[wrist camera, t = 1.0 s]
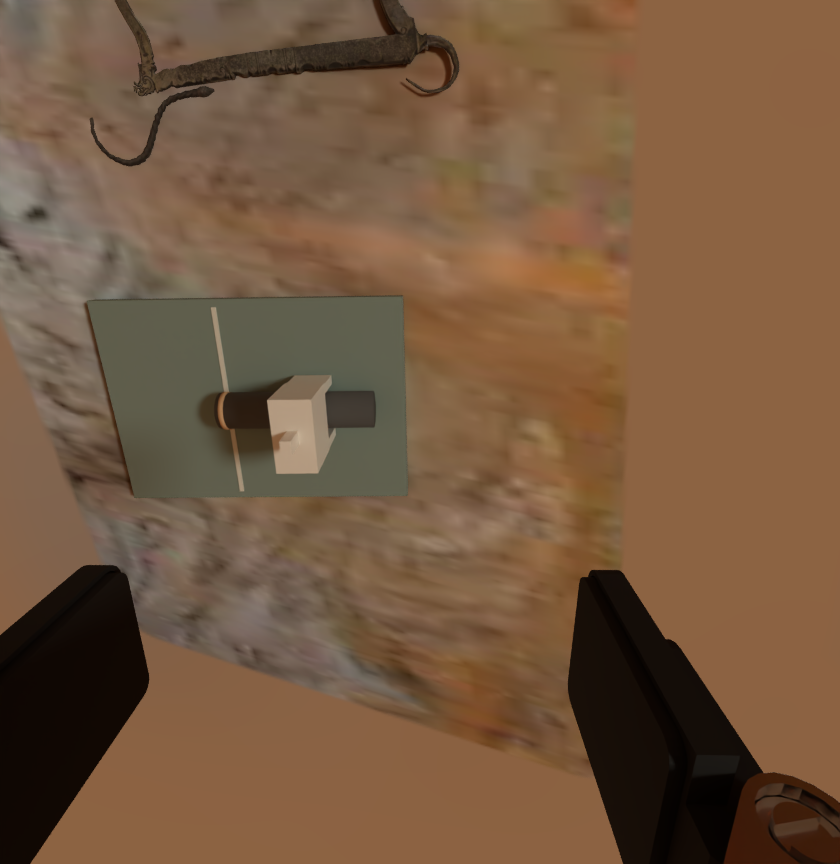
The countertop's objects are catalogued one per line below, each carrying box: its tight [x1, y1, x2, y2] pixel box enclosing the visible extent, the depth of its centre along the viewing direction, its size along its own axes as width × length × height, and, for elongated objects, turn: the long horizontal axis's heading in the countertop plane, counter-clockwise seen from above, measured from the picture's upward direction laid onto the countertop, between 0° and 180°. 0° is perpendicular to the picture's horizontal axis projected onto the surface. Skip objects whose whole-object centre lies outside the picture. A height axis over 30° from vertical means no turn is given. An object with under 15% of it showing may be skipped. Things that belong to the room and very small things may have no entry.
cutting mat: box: [87, 296, 408, 498], centre depth 33 cm, size 14×20×1 cm
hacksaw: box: [90, 0, 459, 166], centre depth 27 cm, size 24×10×2 cm, turn 92°
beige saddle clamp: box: [267, 375, 336, 474], centre depth 29 cm, size 4×2×8 cm, turn 1°
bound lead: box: [214, 391, 376, 430], centre depth 32 cm, size 2×10×2 cm, turn 91°
